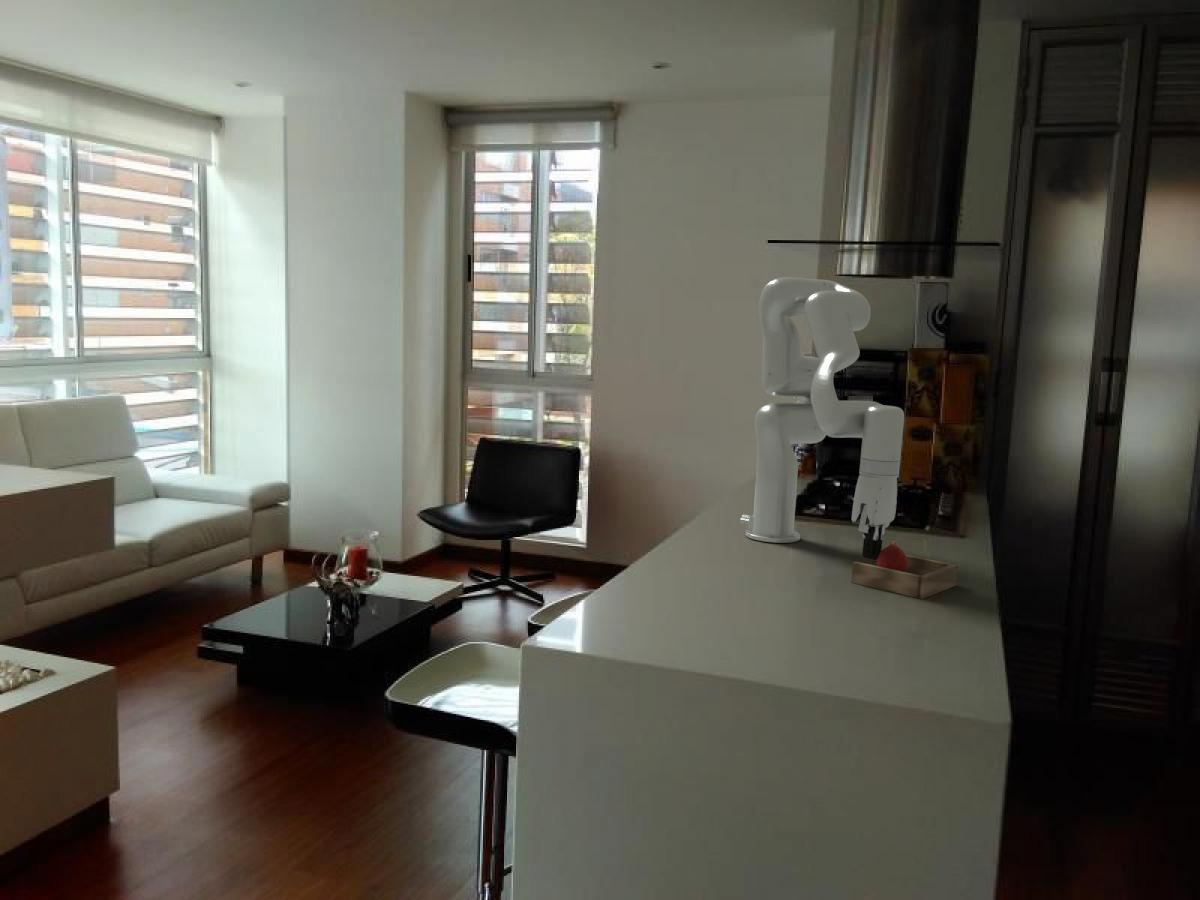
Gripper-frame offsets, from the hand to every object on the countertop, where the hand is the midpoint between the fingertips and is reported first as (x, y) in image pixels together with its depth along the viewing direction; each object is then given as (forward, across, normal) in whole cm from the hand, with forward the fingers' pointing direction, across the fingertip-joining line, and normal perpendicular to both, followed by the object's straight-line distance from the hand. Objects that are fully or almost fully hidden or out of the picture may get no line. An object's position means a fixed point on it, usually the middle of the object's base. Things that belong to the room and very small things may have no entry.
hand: (871, 557), depth 192 cm
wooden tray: (+4, 0, +7) cm, 8 cm away
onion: (+4, 0, +4) cm, 6 cm away
